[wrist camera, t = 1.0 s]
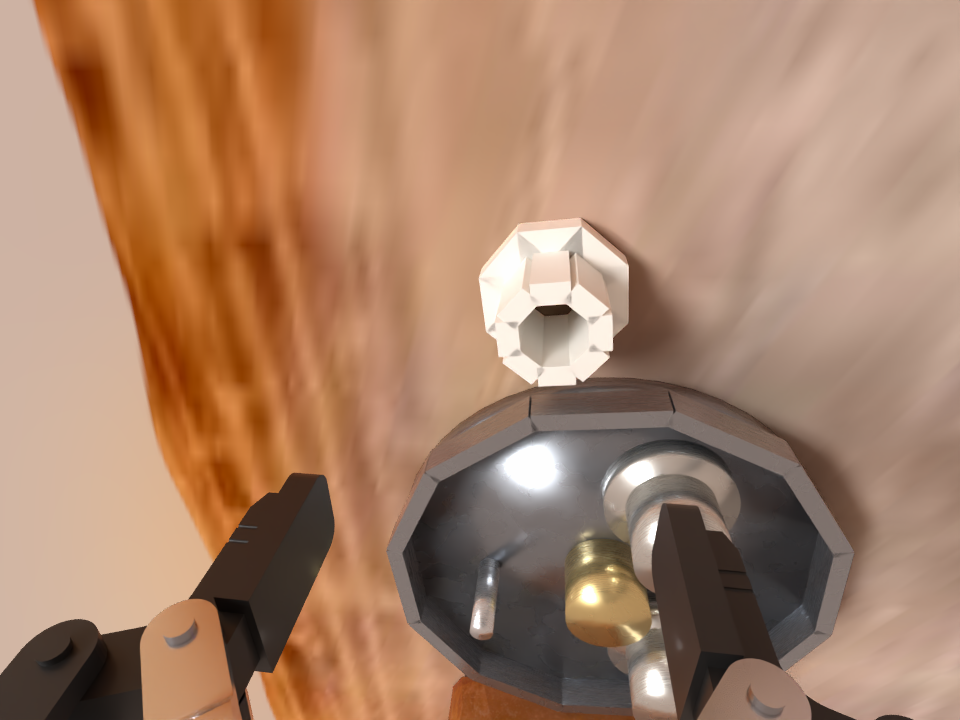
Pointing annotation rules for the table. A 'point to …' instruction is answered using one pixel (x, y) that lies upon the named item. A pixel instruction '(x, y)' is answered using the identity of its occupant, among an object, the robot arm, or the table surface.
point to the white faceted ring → (555, 300)
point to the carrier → (603, 539)
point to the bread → (506, 706)
